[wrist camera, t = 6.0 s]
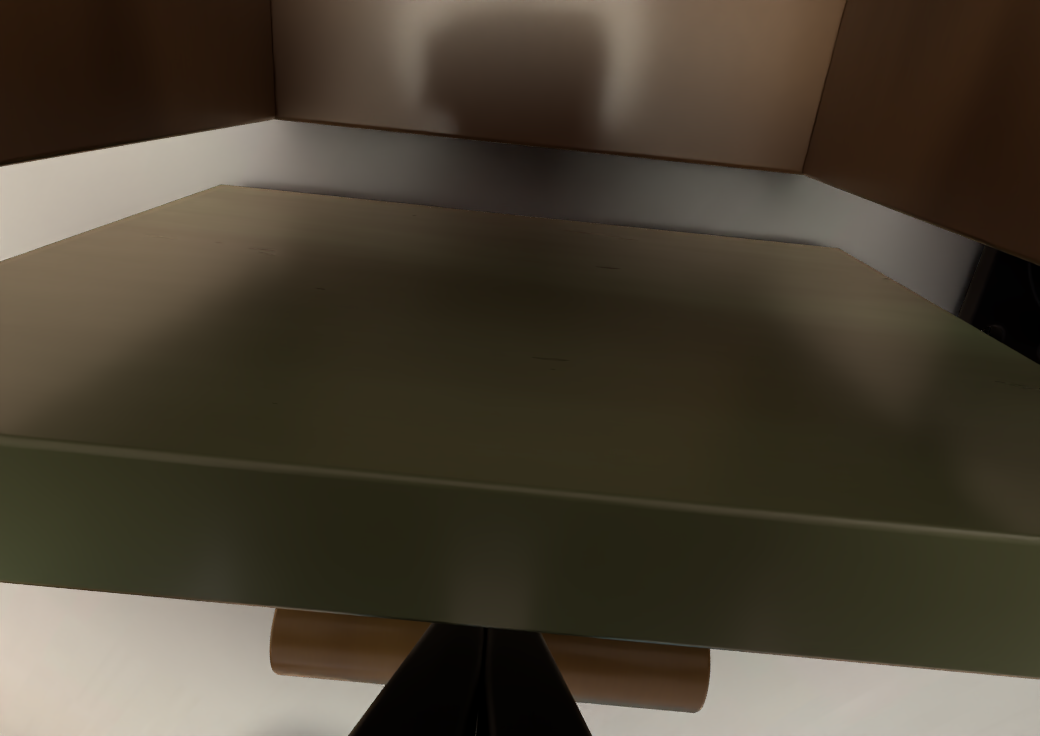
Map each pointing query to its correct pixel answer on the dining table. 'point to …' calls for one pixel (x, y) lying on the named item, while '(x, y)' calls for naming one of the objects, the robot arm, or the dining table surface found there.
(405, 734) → the robot arm
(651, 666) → the drawer
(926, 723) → the dining table surface
